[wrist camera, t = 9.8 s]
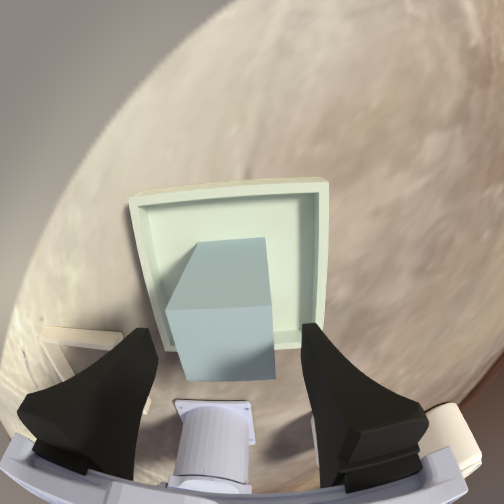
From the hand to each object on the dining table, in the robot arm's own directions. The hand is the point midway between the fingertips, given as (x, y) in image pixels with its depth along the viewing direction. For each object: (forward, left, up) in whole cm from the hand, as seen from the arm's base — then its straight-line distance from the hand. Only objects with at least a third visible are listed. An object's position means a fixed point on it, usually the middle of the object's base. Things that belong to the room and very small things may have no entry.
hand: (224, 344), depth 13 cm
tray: (0, 0, -8) cm, 8 cm away
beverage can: (-27, -26, -9) cm, 38 cm away
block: (0, 0, -8) cm, 8 cm away
